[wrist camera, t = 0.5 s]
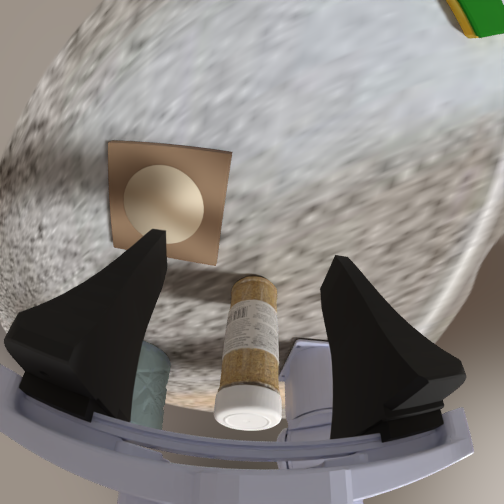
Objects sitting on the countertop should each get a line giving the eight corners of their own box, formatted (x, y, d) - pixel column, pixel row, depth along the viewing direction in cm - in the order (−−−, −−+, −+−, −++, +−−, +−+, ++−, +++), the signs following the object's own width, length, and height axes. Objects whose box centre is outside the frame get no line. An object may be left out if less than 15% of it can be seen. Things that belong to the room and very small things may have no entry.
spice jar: (244, 313, 29) (234, 434, 17) (222, 282, 27) (199, 413, 15) (285, 300, 27) (291, 427, 16) (266, 266, 25) (264, 405, 14)
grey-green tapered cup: (99, 337, 34) (68, 406, 24) (151, 329, 31) (121, 414, 21) (139, 376, 39) (120, 440, 29) (190, 373, 36) (176, 447, 26)
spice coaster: (216, 260, 25) (215, 266, 24) (117, 242, 24) (113, 247, 24) (232, 152, 20) (231, 154, 19) (112, 140, 19) (107, 142, 18)
